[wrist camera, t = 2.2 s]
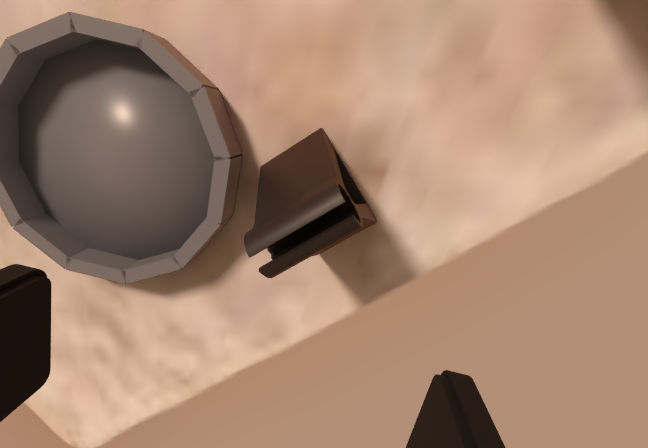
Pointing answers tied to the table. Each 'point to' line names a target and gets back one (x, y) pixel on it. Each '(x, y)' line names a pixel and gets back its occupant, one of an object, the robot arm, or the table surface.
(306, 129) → the table surface
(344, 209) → the phone stand
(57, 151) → the round tray
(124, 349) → the table surface
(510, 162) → the table surface
